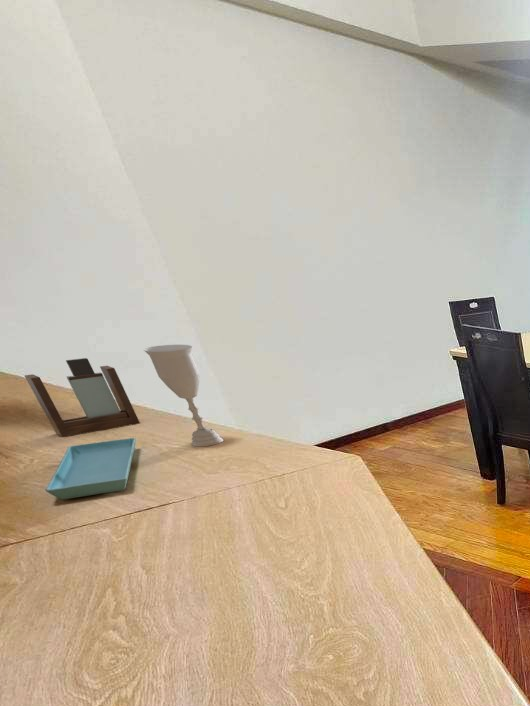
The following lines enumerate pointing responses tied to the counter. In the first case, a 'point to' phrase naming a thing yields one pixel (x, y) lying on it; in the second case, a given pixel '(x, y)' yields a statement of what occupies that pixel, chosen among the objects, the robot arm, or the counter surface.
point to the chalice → (182, 383)
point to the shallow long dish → (93, 469)
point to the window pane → (91, 389)
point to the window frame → (85, 423)
